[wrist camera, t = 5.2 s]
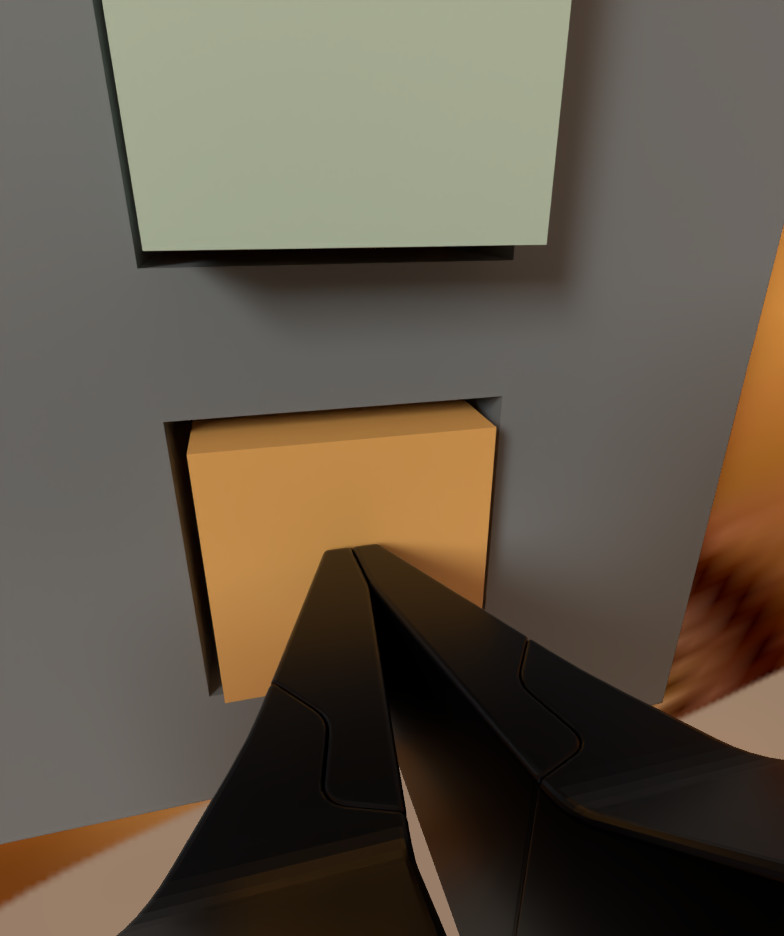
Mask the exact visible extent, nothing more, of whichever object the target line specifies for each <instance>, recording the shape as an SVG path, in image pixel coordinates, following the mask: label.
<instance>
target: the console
mask: <svg viewBox="0 0 784 936" xmlns="http://www.w3.org/2000/svg"><path fill="white" fill-rule="evenodd" d="M783 225H784V0H572V1H571V11H570V20H569V30H568V40H567V50H566V60H565V69H564V79H563V89H562V99H561V109H560V118H559V128H558V138H557V148H556V157H555V167H554V177H553V187H552V197H551V206H550V216H549V226H548V236H547V245H493V246H445V247H387V248H323V249H259V250H196V251H143V250H142V243H141V237H140V231H139V225H138V219H137V213H136V207H135V200H134V194H133V188H132V182H131V176H130V170H129V164H128V157H127V151H126V145H125V139H124V133H123V127H122V120H121V114H120V108H119V102H118V96H117V90H116V84H115V77H114V71H113V65H112V59H111V53H110V47H109V41H108V34H107V28H106V22H105V16H104V10H103V4H102V0H0V844H4V843H9V842H13V841H18V840H23V839H27V838H32V837H37V836H41V835H46V834H51V833H55V832H60V831H65V830H69V829H74V828H79V827H83V826H88V825H93V824H98V823H102V822H107V821H112V820H116V819H121V818H126V817H130V816H135V815H140V814H144V813H149V812H154V811H158V810H163V809H168V808H172V807H177V806H182V805H186V804H191V803H196V802H200V801H205V800H210V799H213V797H214V795H215V794H216V792H217V790H218V788H219V787H220V785H221V783H222V782H223V780H224V778H225V777H226V775H227V773H228V771H229V770H230V768H231V766H232V764H233V762H234V760H235V759H236V757H237V755H238V753H239V751H240V750H241V748H242V746H243V744H244V742H245V740H246V739H247V737H248V734H249V732H250V730H251V728H252V726H253V723H254V721H255V719H256V717H257V715H258V712H259V710H260V708H261V706H262V703H263V701H264V698H265V696H263V697H257V698H252V699H246V700H241V701H235V702H230V703H225V700H224V693H223V687H222V680H221V674H220V668H219V661H218V655H217V648H216V642H215V635H214V629H213V622H212V616H211V609H210V603H209V596H208V590H207V583H206V577H205V570H204V564H203V557H202V551H201V544H200V538H199V532H198V525H197V519H196V512H195V506H194V499H193V493H192V486H191V480H190V473H189V467H188V460H187V450H188V444H189V439H190V430H189V423H188V420H197V419H210V418H223V417H236V416H249V415H262V414H275V413H288V412H301V411H315V410H328V409H341V408H354V407H367V406H380V405H393V404H406V403H419V402H432V401H445V400H459V399H464V400H465V401H466V402H467V403H468V404H470V405H471V406H472V407H473V408H474V409H476V410H477V411H478V412H479V413H480V414H481V415H483V416H484V417H485V418H486V419H487V420H489V421H490V422H491V423H492V424H493V425H494V426H496V439H495V451H494V464H493V477H492V490H491V502H490V515H489V528H488V540H487V553H486V566H485V578H484V591H483V604H482V609H483V610H485V611H487V612H488V613H490V614H491V615H493V616H495V617H496V618H498V619H499V620H501V621H503V622H504V623H506V624H508V625H509V626H511V627H512V628H514V629H516V630H517V631H519V632H520V633H522V634H524V635H525V636H527V638H528V640H530V639H532V640H534V641H535V642H537V643H538V644H540V645H542V646H543V647H545V648H546V649H548V650H550V651H551V652H553V653H555V654H556V655H558V656H560V657H561V658H563V659H565V660H567V661H568V662H570V663H572V664H573V665H575V666H577V667H578V668H580V669H582V670H584V671H585V672H587V673H589V674H591V675H593V676H595V677H597V678H599V679H601V680H602V681H604V682H606V683H608V684H610V685H612V686H614V687H616V688H617V689H619V690H621V691H623V692H625V693H627V694H629V695H631V696H633V697H635V698H637V699H639V700H641V701H643V702H645V703H647V704H649V705H654V704H659V703H662V701H663V698H664V694H665V690H666V686H667V682H668V678H669V674H670V670H671V666H672V662H673V658H674V654H675V650H676V646H677V642H678V638H679V634H680V631H681V627H682V623H683V619H684V615H685V611H686V607H687V603H688V599H689V595H690V591H691V587H692V583H693V579H694V575H695V571H696V567H697V564H698V560H699V556H700V552H701V548H702V544H703V540H704V536H705V532H706V528H707V524H708V520H709V516H710V512H711V508H712V504H713V501H714V497H715V493H716V489H717V485H718V481H719V477H720V473H721V469H722V465H723V461H724V457H725V453H726V449H727V445H728V441H729V437H730V434H731V430H732V426H733V422H734V418H735V414H736V410H737V406H738V402H739V398H740V394H741V390H742V386H743V382H744V378H745V374H746V371H747V367H748V363H749V359H750V355H751V351H752V347H753V343H754V339H755V335H756V331H757V327H758V323H759V319H760V315H761V311H762V307H763V304H764V300H765V296H766V292H767V288H768V284H769V280H770V276H771V272H772V268H773V264H774V260H775V256H776V252H777V248H778V244H779V240H780V237H781V233H782V229H783Z"/></svg>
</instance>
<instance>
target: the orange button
mask: <svg viewBox="0 0 784 936" xmlns="http://www.w3.org/2000/svg"><path fill="white" fill-rule="evenodd" d="M495 439H496V426H494V425H493V424H492V423H491V422H490V421H489V420H487V419H486V418H485V417H484V416H483V415H481V414H480V413H479V412H478V411H477V410H476V409H474V408H473V407H472V406H471V405H470V404H468V403H467V402H466V401H465V400H464V399H459V400H445V401H432V402H419V403H406V404H393V405H380V406H367V407H354V408H341V409H328V410H315V411H301V412H288V413H275V414H262V415H249V416H236V417H223V418H210V419H197V420H193V422H192V428H191V433H190V439H189V444H188V450H187V460H188V467H189V473H190V480H191V486H192V493H193V499H194V506H195V512H196V519H197V525H198V532H199V538H200V544H201V551H202V557H203V564H204V570H205V577H206V583H207V590H208V596H209V603H210V609H211V616H212V622H213V629H214V635H215V642H216V648H217V655H218V661H219V668H220V674H221V680H222V687H223V693H224V700H225V703H230V702H235V701H241V700H246V699H252V698H257V697H263V696H266V693H267V691H268V688H269V687H270V686H271V682H272V679H273V677H274V674H275V672H276V669H277V667H278V665H279V662H280V660H281V657H282V655H283V652H284V650H285V647H286V645H287V642H288V640H289V637H290V635H291V632H292V630H293V627H294V625H295V623H296V620H297V618H298V615H299V613H300V610H301V608H302V605H303V603H304V600H305V598H306V595H307V593H308V590H309V588H310V585H311V583H312V581H313V578H314V576H315V573H316V571H317V568H318V566H319V563H320V561H321V558H322V556H323V554H324V552H325V551H326V550H332V549H339V548H350V549H351V550H352V549H353V548H354V547H356V546H363V545H370V544H378V545H380V546H382V547H384V548H385V549H387V550H388V551H390V552H392V553H393V554H395V555H396V556H398V557H400V558H401V559H403V560H405V561H406V562H408V563H409V564H411V565H413V566H414V567H416V568H417V569H419V570H421V571H422V572H424V573H425V574H427V575H429V576H430V577H432V578H433V579H435V580H437V581H438V582H440V583H442V584H443V585H445V586H446V587H448V588H450V589H451V590H453V591H454V592H456V593H458V594H459V595H461V596H462V597H464V598H466V599H467V600H469V601H470V602H472V603H474V604H475V605H477V606H479V607H480V608H482V604H483V591H484V578H485V566H486V553H487V540H488V528H489V515H490V502H491V490H492V477H493V464H494V451H495Z"/></svg>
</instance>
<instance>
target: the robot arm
mask: <svg viewBox="0 0 784 936" xmlns="http://www.w3.org/2000/svg"><path fill="white" fill-rule="evenodd" d="M399 767H400V770H401V772H402V775H403V778H404V780H405V784H406V786H407V789H408V792H409V795H410V798H411V800H412V803H413V806H414V809H415V812H416V815H417V817H418V820H419V823H420V826H421V828H422V831H423V834H424V837H425V840H426V842H427V845H428V848H429V851H430V854H431V857H432V859H433V862H434V865H435V868H436V871H437V873H438V876H439V879H440V882H441V885H442V887H443V890H444V893H445V896H446V898H447V902H448V904H449V907H450V910H451V912H452V916H453V918H454V921H455V924H456V927H457V930H458V932H459V935H460V936H784V760H781V759H775V758H769V757H765V756H761V755H757V754H754V753H750V752H747V751H744V750H742V749H739V748H736V747H733V746H731V745H729V744H727V743H725V742H722V741H720V740H718V739H716V738H714V737H712V736H710V735H708V734H706V733H704V732H702V731H700V730H698V729H696V728H694V727H692V726H690V725H688V724H686V723H684V722H682V721H680V720H678V719H676V718H674V717H672V716H671V715H669V714H667V713H665V712H663V711H661V710H659V709H657V708H655V707H653V706H651V705H649V704H647V703H645V702H643V701H641V700H639V699H637V698H635V697H633V696H631V695H629V694H627V693H625V692H623V691H621V690H619V689H617V688H616V687H614V686H612V685H610V684H608V683H606V682H604V681H602V680H601V679H599V678H597V677H595V676H593V675H591V674H589V673H587V672H585V671H584V670H582V669H580V668H578V667H577V666H575V665H573V664H572V663H570V662H568V661H567V660H565V659H563V658H561V657H560V656H558V655H556V654H555V653H553V652H551V651H550V650H548V649H546V648H545V647H543V646H542V645H540V644H538V643H537V642H535V641H534V640H532V639H530V640H528V638H527V636H525V635H524V634H522V633H520V632H519V631H517V630H516V629H514V628H512V627H511V626H509V625H508V624H506V623H504V622H503V621H501V620H499V619H498V618H496V617H495V616H493V615H491V614H490V613H488V612H487V611H485V610H483V609H482V608H480V607H479V606H477V605H475V604H474V603H472V602H470V601H469V600H467V599H466V598H464V597H462V596H461V595H459V594H458V593H456V592H454V591H453V590H451V589H450V588H448V587H446V586H445V585H443V584H442V583H440V582H438V581H437V580H435V579H433V578H432V577H430V576H429V575H427V574H425V573H424V572H422V571H421V570H419V569H417V568H416V567H414V566H413V565H411V564H409V563H408V562H406V561H405V560H403V559H401V558H400V557H398V556H396V555H395V554H393V553H392V552H390V551H388V550H387V549H385V548H384V547H382V546H380V545H378V544H370V545H363V546H356V547H354V548H353V549H352V550H351V549H350V548H339V549H332V550H326V551H325V552H324V554H323V556H322V558H321V561H320V563H319V566H318V568H317V571H316V573H315V576H314V578H313V581H312V583H311V585H310V588H309V590H308V593H307V595H306V598H305V600H304V603H303V605H302V608H301V610H300V613H299V615H298V618H297V620H296V623H295V625H294V627H293V630H292V632H291V635H290V637H289V640H288V642H287V645H286V647H285V650H284V652H283V655H282V657H281V660H280V662H279V665H278V667H277V669H276V672H275V674H274V677H273V679H272V682H271V686H270V687H269V688H268V691H267V693H266V696H265V698H264V701H263V703H262V706H261V708H260V710H259V712H258V715H257V717H256V719H255V721H254V723H253V726H252V728H251V730H250V732H249V734H248V737H247V739H246V740H245V742H244V744H243V746H242V748H241V750H240V751H239V753H238V755H237V757H236V759H235V760H234V762H233V764H232V766H231V768H230V770H229V771H228V773H227V775H226V777H225V778H224V780H223V782H222V783H221V785H220V787H219V788H218V790H217V792H216V794H215V795H214V797H213V799H212V800H211V802H210V804H209V805H208V807H207V809H206V811H205V812H204V814H203V816H202V817H201V819H200V821H199V822H198V824H197V826H196V827H195V829H194V831H193V833H192V834H191V836H190V838H189V839H188V841H187V843H186V844H185V846H184V848H183V850H182V851H181V853H180V854H179V856H178V858H177V860H176V861H175V863H174V865H173V866H172V868H171V870H170V871H169V873H168V875H167V876H166V878H165V879H164V881H163V883H162V884H161V886H160V887H159V889H158V890H157V891H156V893H155V894H154V896H153V897H152V898H151V900H150V901H149V902H148V904H147V905H146V906H145V907H144V908H143V910H142V911H141V912H140V913H139V914H138V916H137V917H136V918H135V919H134V920H133V921H132V922H131V923H130V924H129V925H128V926H127V927H126V928H125V929H124V930H123V931H122V932H120V933H119V934H118V935H117V936H446V933H445V931H444V928H443V926H442V924H441V921H440V919H439V917H438V914H437V912H436V910H435V907H434V905H433V902H432V900H431V898H430V895H429V893H428V890H427V888H426V886H425V883H424V881H423V879H422V877H421V874H420V872H419V869H418V866H417V864H416V860H415V856H414V852H413V847H412V843H411V838H410V832H409V826H408V821H407V818H406V807H405V801H404V795H403V789H402V783H401V777H400V771H399Z"/></svg>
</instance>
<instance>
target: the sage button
mask: <svg viewBox="0 0 784 936" xmlns="http://www.w3.org/2000/svg"><path fill="white" fill-rule="evenodd" d="M571 1H572V0H102V4H103V10H104V16H105V22H106V28H107V34H108V41H109V47H110V53H111V59H112V65H113V71H114V77H115V84H116V90H117V96H118V102H119V108H120V114H121V120H122V127H123V133H124V139H125V145H126V151H127V157H128V164H129V170H130V176H131V182H132V188H133V194H134V200H135V207H136V213H137V219H138V225H139V231H140V237H141V243H142V250H143V251H172V250H236V249H301V248H365V247H429V246H493V245H547V236H548V226H549V216H550V206H551V197H552V187H553V177H554V167H555V157H556V148H557V138H558V128H559V118H560V109H561V99H562V89H563V79H564V69H565V60H566V50H567V40H568V30H569V20H570V11H571Z"/></svg>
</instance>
